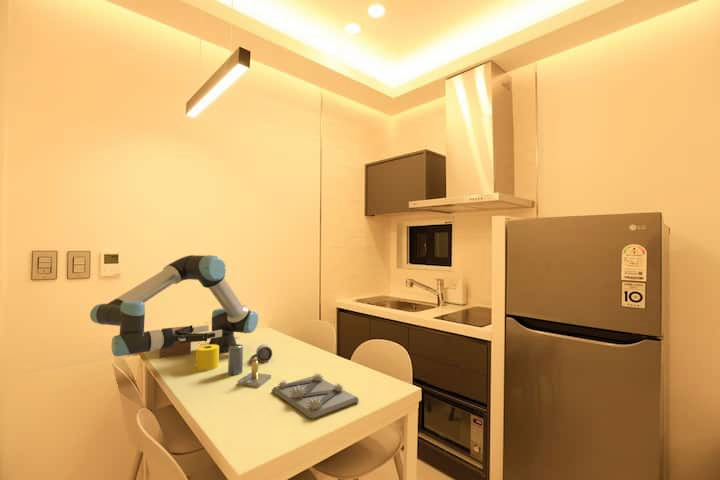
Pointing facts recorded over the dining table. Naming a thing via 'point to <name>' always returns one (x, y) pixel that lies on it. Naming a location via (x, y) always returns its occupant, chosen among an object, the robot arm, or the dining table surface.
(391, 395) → the dining table surface
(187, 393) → the dining table surface
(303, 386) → the decorative plate
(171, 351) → the tissue box cover
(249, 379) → the square metal stand
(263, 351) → the ceramic mug
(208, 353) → the tape roll
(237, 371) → the trash can
